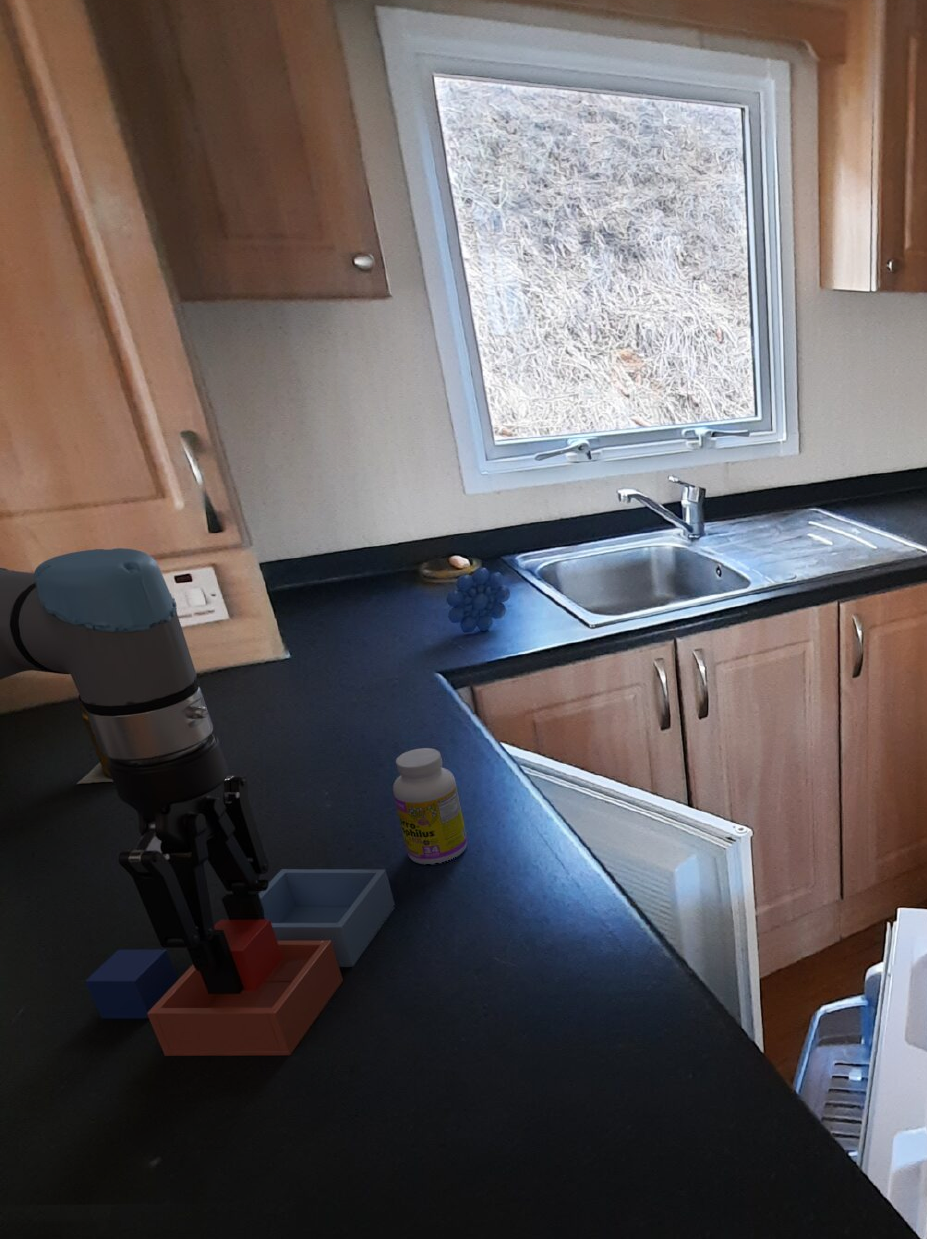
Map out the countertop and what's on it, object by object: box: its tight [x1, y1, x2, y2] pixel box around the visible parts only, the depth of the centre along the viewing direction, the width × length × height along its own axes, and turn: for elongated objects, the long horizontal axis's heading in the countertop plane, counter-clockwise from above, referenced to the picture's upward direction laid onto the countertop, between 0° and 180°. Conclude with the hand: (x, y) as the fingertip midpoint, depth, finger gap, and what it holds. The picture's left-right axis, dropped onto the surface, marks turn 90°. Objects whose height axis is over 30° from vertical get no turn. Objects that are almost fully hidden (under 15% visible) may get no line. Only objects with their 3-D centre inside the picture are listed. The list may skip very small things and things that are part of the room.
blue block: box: [84, 949, 179, 1019], centre depth 91 cm, size 4×4×4 cm
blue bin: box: [258, 868, 396, 968], centre depth 100 cm, size 11×10×5 cm
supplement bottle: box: [392, 747, 468, 866], centre depth 113 cm, size 7×7×13 cm
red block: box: [198, 919, 283, 991], centre depth 88 cm, size 4×4×4 cm
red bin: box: [147, 940, 344, 1057], centre depth 90 cm, size 11×10×5 cm
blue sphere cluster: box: [446, 567, 511, 633], centre depth 180 cm, size 12×7×12 cm, turn 128°
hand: (242, 971), depth 88 cm, fingers closed on red block, 4 cm apart
